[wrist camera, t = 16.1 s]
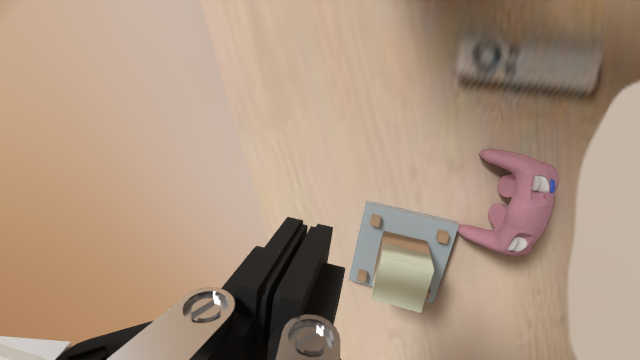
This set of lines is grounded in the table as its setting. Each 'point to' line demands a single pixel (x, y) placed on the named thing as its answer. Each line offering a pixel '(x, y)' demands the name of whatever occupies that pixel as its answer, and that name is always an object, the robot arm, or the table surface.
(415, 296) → the block stack
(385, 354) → the table surface
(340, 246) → the table surface
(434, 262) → the board
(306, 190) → the table surface
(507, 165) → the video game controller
